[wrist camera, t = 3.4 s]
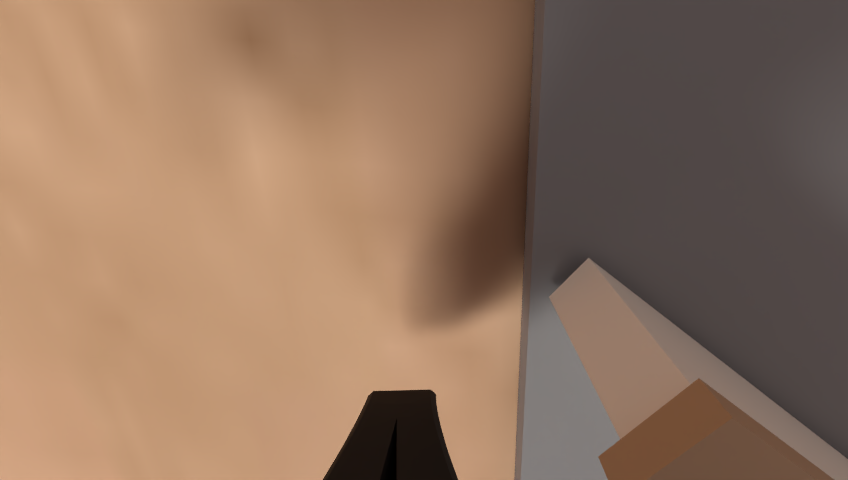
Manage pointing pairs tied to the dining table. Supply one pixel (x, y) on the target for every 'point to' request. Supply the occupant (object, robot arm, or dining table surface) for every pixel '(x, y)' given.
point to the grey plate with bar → (688, 202)
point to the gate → (679, 396)
